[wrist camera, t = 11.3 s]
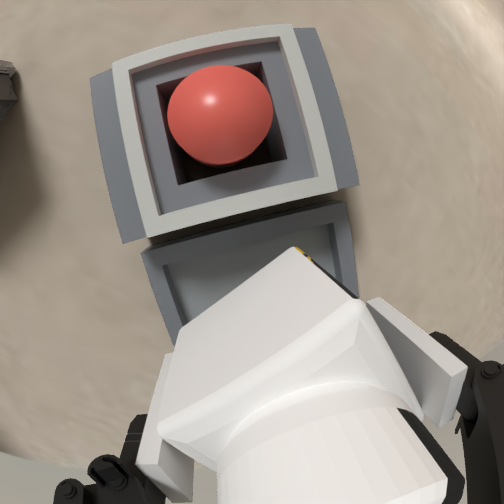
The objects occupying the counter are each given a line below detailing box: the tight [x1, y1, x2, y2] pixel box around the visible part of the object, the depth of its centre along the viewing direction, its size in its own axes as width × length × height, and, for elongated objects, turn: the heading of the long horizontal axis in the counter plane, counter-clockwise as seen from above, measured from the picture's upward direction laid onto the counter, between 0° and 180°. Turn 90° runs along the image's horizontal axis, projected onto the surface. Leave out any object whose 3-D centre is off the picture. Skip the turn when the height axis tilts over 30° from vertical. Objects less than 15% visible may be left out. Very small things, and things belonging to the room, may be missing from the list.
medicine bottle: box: [155, 247, 465, 504], centre depth 8 cm, size 7×7×12 cm
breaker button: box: [167, 65, 273, 168], centre depth 13 cm, size 4×4×4 cm
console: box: [90, 23, 359, 347], centre depth 15 cm, size 12×21×5 cm, turn 13°
